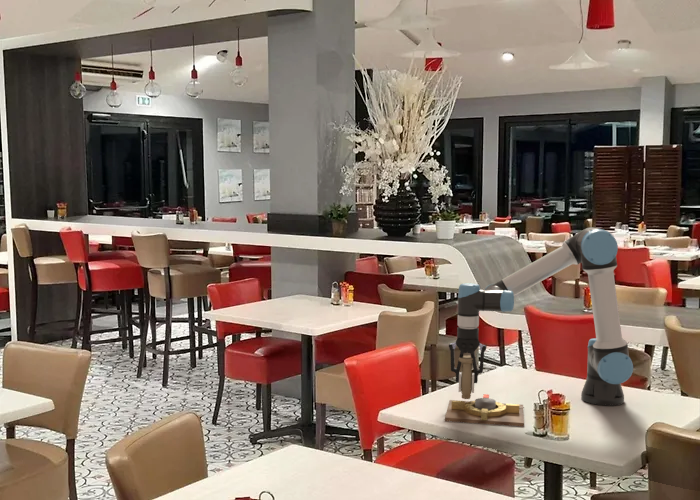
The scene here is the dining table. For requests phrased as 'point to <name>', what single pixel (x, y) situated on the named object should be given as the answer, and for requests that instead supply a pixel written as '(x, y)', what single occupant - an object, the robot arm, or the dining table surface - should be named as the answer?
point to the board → (489, 404)
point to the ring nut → (485, 413)
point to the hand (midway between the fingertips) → (466, 391)
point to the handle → (466, 376)
